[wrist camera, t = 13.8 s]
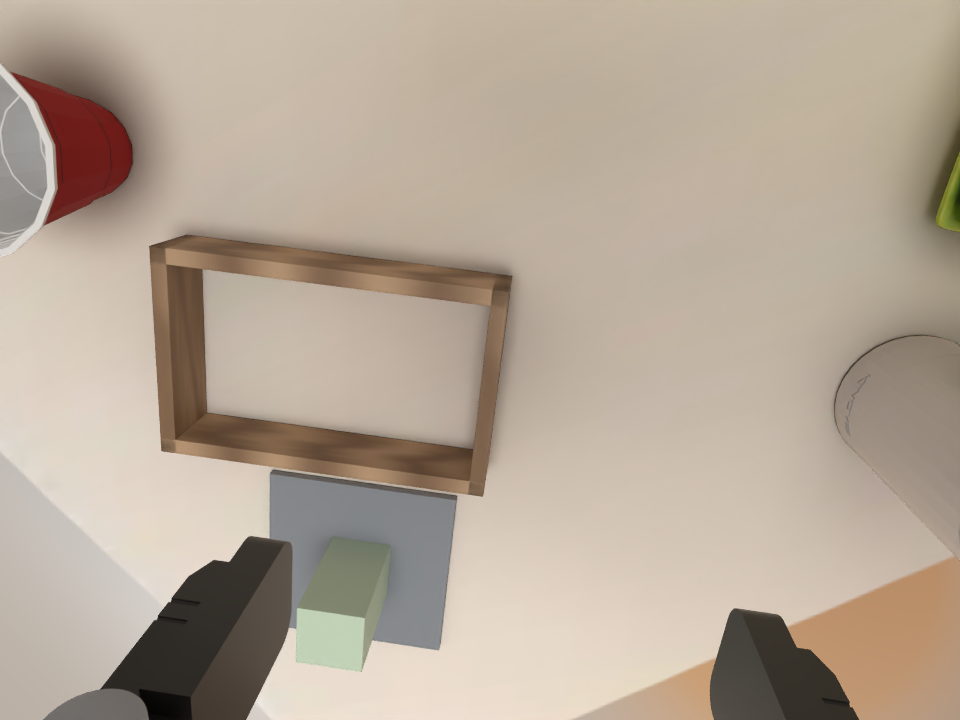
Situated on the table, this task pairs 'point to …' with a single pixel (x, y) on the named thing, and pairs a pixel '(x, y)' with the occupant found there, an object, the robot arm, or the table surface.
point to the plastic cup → (53, 156)
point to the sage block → (343, 604)
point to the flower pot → (951, 202)
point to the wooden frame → (300, 445)
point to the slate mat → (378, 519)
